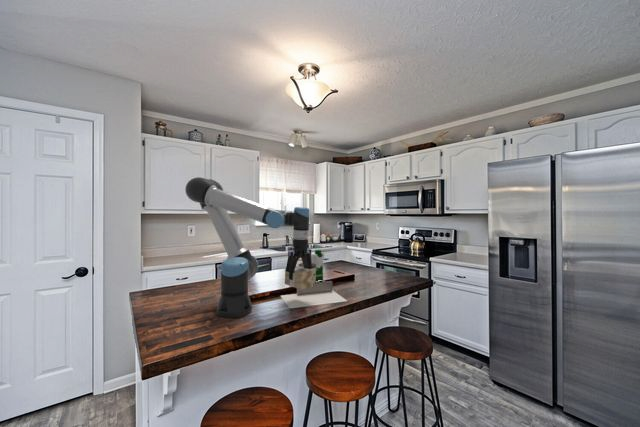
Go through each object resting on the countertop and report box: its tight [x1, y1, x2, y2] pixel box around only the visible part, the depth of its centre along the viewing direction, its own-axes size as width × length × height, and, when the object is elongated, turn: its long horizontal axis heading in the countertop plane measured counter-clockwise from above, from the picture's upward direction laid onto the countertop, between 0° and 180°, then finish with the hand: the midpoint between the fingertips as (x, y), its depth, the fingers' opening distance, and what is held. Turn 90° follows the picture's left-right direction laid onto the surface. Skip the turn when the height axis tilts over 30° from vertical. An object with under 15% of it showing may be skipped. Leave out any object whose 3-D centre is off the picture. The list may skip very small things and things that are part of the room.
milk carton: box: [311, 249, 325, 281], centre depth 176 cm, size 9×9×20 cm
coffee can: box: [297, 262, 316, 283], centre depth 159 cm, size 10×10×14 cm
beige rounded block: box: [284, 265, 314, 290], centre depth 135 cm, size 8×12×8 cm, turn 47°
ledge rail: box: [296, 279, 333, 295], centre depth 150 cm, size 20×2×7 cm, turn 112°
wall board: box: [280, 289, 348, 309], centre depth 141 cm, size 30×19×1 cm, turn 112°
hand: (298, 284), depth 135 cm, fingers closed on beige rounded block, 8 cm apart
